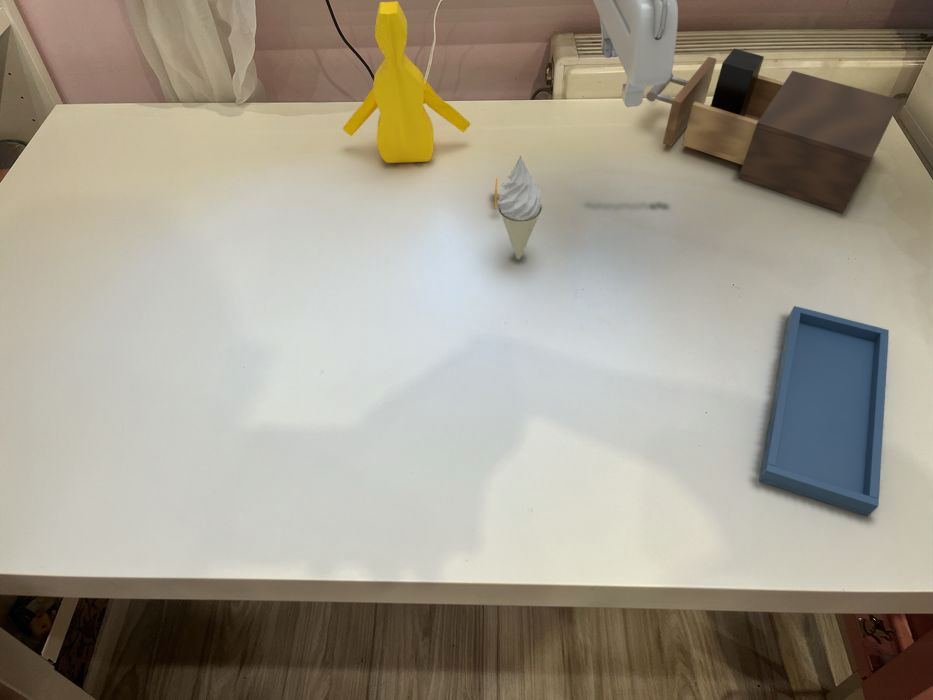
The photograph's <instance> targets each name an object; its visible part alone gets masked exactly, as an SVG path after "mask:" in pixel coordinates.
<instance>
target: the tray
mask: <svg viewBox="0 0 933 700" xmlns="http://www.w3.org/2000/svg"><path fill="white" fill-rule="evenodd" d="M889 333H890V331H889V329H886V328H883V327H878V326H875V325H870V324H868V323H863V322H860V321H856V320H855V321H854V320H851V319H847V318H843V317H839V316H836V315H832V314H828V313H823V312H821V311H820V312H819V311H816V310H813V309H808V308H805V307H802V306H801V307H800V306H797V305H793V307H792V309H791V311H790V313H789V314H788V317H787V319H786V326H785V332H784V337H783V343H782V349H781V354H780V361H779V366H778V372H777V377H776V382H775V387H774V388H775V389H774V395H773V400H772V406H771V412H770V417H769V423H768V428H767V434H766V440H765V445H764V450H763V451H764V452H763V457H762V463H761V468H760V474H759V480H758V481H759V482H761V483H764V484H768V485H770V486H774V487H777V488H780V489H783V490H786V491H789V492H791V493H795V494H798V495H802V496H805V497H808V498H811V499H814V500H817V501H820V502H823V503H827V504H829V505H833V506H835V507H839V508H841V509H845V510H848V511H850V512H854V513H857V514H860V515H863V516H866V517H869V516H870V515H871V514H872V513H873V512H874V511H875V510H876V509H877V508H878V507H879V499H880V485H881V468H882V453H883V438H884V437H883V435H884V421H885V420H884V419H885V418H884V417H885V402H886V388H887V387H886V384H887V370H888V369H887V368H888V351H889V335H890V334H889Z"/></svg>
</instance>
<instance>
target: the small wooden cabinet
mask: <svg viewBox="0 0 933 700" xmlns="http://www.w3.org/2000/svg"><path fill="white" fill-rule="evenodd" d="M783 82H784V84H783V85H782V87H781V88H780V90H779V91H778V93H777V94H776V96H775V97H774V99H773V100H772V102H771V103H770V105H769V106H768V107H767V109H766V110H765V112H764V113H763V115H762V116H761V118H760V119H759V121H758V122H757V125H756V128H755V131H754V134H753V137H752V139H751V142H750V145H749V148H748V151H747V154H746V157H745V160H744V163H743V165H741V168H740V171H739V174H738V177H737V178H738V179H739V180H743V181H745V182H748V183H751V184H755V185H757V186H761V187H763V188H766V189H769V190H772V191H776V192H777V193H781V194H784V195H786V196H789V197H792V198H796V199H798V200H801V201H805V202H807V203H810V204H813V205H817V206H820V207H823V208H826V209H828V210H831V211H834V212H837V213H840V214H844V213H845V211H846V209H847V207H848V205H849V203H850V202H851V199H852V197H853V195H854V193H855V192H856V189H857V188H858V186H859V184H860V182H861V180H862V178H863V176H864V174H865V172H866V171H867V169H868V167H869V165H870V164H871V163H870V162H871V161H872V159H873V157H874V156H875V153H876V151H877V149H878V147H879V145H880V144H881V141H882V138H883V137H884V135H885V133H886V130H887V129H888V127H889V125H890V123H891V120H892V118H893V116H894V115H895V112H896V110H897V108H898V106H899V104H900V102H901V99H898V98H895V97H890V96H887V95H884V94H879V93H876V92H872V91H869V90H865V89H862V88H857V87H853V86H851V85H846V84H843V83H839V82H835V81H832V80H828V79H824V78H821V77H818V76H813V75H810V74H806V73H804V72H803V73H802V72H799V71H795V70H791V72H790V73H789V75H788V77H786V79H785V81H783Z"/></svg>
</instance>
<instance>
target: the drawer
mask: <svg viewBox="0 0 933 700" xmlns="http://www.w3.org/2000/svg"><path fill="white" fill-rule="evenodd" d="M717 60H718V59H717V58H714V57H711V56H708V57H707V58H706V59H705V60H704V62H703V63H702V64H701V65H700V67H699V68H698V69H696V71H695V72H694V74H693V75H692V76H691V77H690V79H689V80H686V79H684V78H679V77H676V76H674V74H673V73H672V74H671V76H670V78H669V79H668V81H667V82H666V83H664V84H660V85H654V86H652V87H651V88H650V90H649V91H648V92H647V94H646V99H647V100H648V101H649V102H654V101H656V100H657V101H660V102H662V103H666V104H670V105H671V107H670V110H669V115H668V119H667V123H666V128H665V132H664V136H663V142H662V144H663V145H665V146H668V147H672V146H673V145H674V143H675V142H676V140H678V138H679V137H680V135H681V134H682V133H683V132H684V130H685V133H684V137H683V141H682V146H684V147H686V148H690V149H693V150H696V151H699V152H702V153H705V154H708V155H711V156H714V157H717V158H720V159H723V160H726V161H729V162H733V163H735V164H738V165H741V166H743V163H744V160H745V157H746V154H747V151H748V148H749V145H750V142H751V139H752V137H753V134H754V131H755V128H756V125H757V122H758V121H759V119H760V118H761V116H762V115H763V113H764V112H765V110H766V109H767V107H768V106H769V105H770V103H771V102H772V100H773V99H774V97H775V96H776V94H777V93H778V91H779V90H780V88H781V87H782V85H783V84H784V82H785V81H782V80H778V79H776V78H775V79H774V78H771V77H767V76H764V75H760V74H758V77H757V80H756V83H755V86H754V90H753V93H752V96H751V99H750V102H749V105H748V108H747V111H746V114H745V117H744V116H741V115H738V114H734V113H731V112H728V111H724V110H721V109H718V108H715V107H711V104H710V105H708V104H705V103H706V100H707V96H708V93H709V89H710V86H711V81H712V78H713V74H714V71H715V67H716V63H717ZM670 83H671V84H672V83H673V84H676V85H680V86H683V87H682V88H681V89H680V91H679V92H678V93H677V94H676V96H674V97H671V96H669V95H668V96H667V95H665V94H661V93H663V91H664V90H665V89H666V88H667V87H668V85H670Z"/></svg>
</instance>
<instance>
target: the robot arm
mask: <svg viewBox="0 0 933 700" xmlns="http://www.w3.org/2000/svg"><path fill="white" fill-rule="evenodd" d="M592 1H593V4H594V6H595V8H596V11H597V13H598V15H599V22H600V31H601V32H600V33H601V46H600V49H601V52H602V54H603V56H604V58H605V59H610V58H617V57H618V59H619V62H620V64H621V66H622V68H623V70H624V73H625V75H626V77H627V78H626V82H625V83H623V84H622V89H621V92H622V93H621V98H622V101H623V104H624V106H625V107H626V108H634V107H638V106H641V104H642V103H643V99H644V93H645V90H646V89H647V87H653V86H654V85H660V84H664V83H666V82H667V81H668V79H669V78H670V76H671V74H673V68H674V62H675V53H676V43H677V35H678V23H679V7H678V2H677V0H592Z"/></svg>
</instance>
